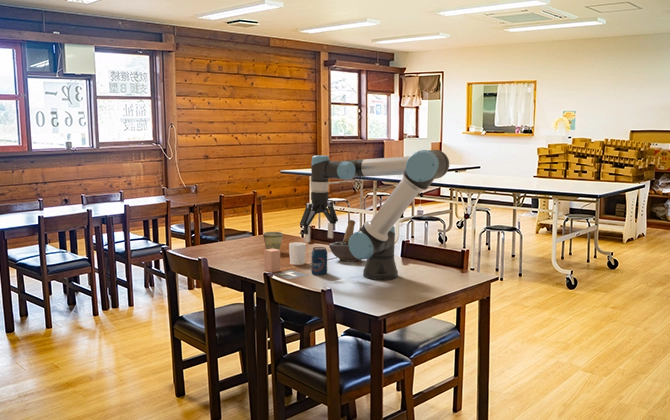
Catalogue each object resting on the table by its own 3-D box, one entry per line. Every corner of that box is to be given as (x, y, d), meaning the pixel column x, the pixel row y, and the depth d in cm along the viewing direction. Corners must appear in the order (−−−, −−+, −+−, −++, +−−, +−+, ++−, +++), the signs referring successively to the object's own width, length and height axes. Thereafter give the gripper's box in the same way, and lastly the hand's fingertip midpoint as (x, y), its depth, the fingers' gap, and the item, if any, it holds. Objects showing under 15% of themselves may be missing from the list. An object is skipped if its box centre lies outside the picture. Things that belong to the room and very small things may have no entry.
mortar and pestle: (372, 261, 305) (373, 220, 302) (346, 265, 294) (347, 223, 291) (352, 255, 316) (353, 216, 313) (327, 260, 305) (327, 219, 303)
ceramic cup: (274, 255, 315) (274, 235, 314) (259, 253, 321) (259, 233, 319) (289, 251, 326) (289, 232, 325) (274, 248, 332) (274, 230, 330)
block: (280, 272, 280) (280, 250, 278) (271, 273, 276) (271, 251, 275) (273, 270, 283) (273, 248, 282) (264, 271, 280) (264, 249, 279)
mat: (309, 276, 273) (309, 274, 272) (289, 280, 265) (289, 279, 265) (291, 271, 281) (291, 270, 281) (272, 275, 274) (272, 273, 274)
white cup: (303, 266, 291) (303, 245, 289) (287, 265, 292) (287, 244, 291) (307, 263, 298) (307, 242, 297) (291, 262, 300) (291, 241, 298)
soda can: (310, 276, 272) (310, 249, 271) (312, 272, 279) (313, 246, 277) (325, 277, 271) (326, 250, 270) (328, 273, 278) (328, 246, 277)
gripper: (334, 188, 281) (333, 235, 284) (291, 192, 264) (291, 241, 267) (346, 190, 276) (345, 237, 279) (303, 194, 259) (302, 244, 262)
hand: (319, 239), depth 273 cm, fingers open, 13 cm apart
